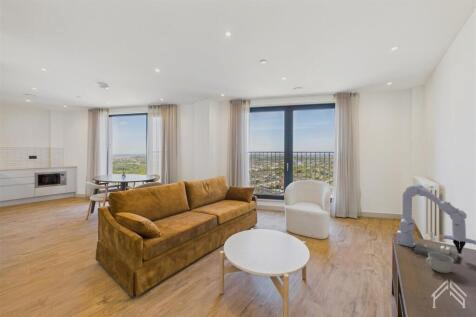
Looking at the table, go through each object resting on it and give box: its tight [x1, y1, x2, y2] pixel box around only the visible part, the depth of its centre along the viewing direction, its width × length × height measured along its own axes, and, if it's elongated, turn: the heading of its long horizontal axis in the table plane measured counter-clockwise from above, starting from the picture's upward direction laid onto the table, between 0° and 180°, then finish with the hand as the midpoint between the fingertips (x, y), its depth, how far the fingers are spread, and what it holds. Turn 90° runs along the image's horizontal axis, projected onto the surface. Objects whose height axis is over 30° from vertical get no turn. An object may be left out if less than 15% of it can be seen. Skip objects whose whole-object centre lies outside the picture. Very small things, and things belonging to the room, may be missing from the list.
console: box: [413, 243, 460, 263], centre depth 142 cm, size 20×12×2 cm, turn 41°
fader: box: [439, 245, 451, 255], centre depth 138 cm, size 4×5×3 cm
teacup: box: [425, 252, 455, 274], centre depth 123 cm, size 14×11×8 cm
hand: (459, 253), depth 133 cm, fingers closed
